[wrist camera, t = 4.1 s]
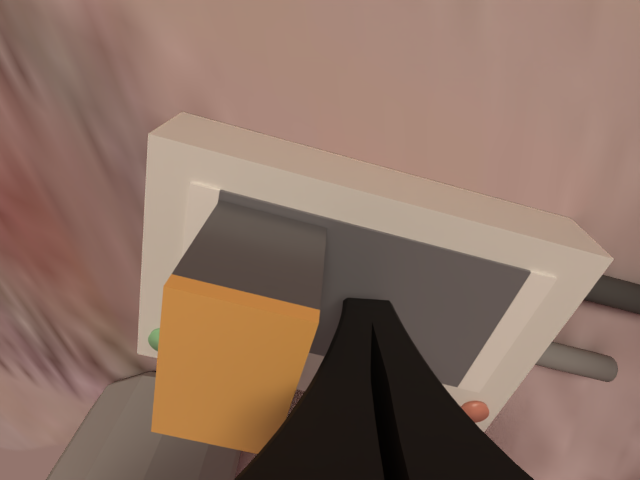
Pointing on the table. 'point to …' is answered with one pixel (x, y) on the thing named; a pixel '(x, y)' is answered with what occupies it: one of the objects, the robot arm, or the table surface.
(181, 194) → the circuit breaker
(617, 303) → the cord
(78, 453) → the water bottle
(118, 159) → the table surface
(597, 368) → the cord
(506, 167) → the table surface
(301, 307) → the knob
